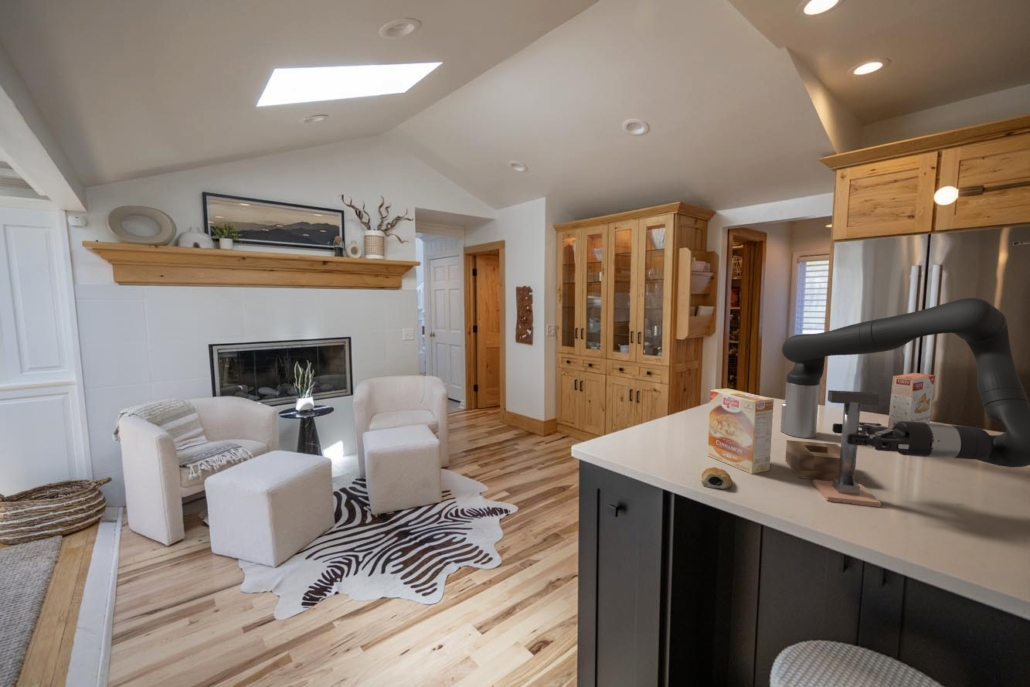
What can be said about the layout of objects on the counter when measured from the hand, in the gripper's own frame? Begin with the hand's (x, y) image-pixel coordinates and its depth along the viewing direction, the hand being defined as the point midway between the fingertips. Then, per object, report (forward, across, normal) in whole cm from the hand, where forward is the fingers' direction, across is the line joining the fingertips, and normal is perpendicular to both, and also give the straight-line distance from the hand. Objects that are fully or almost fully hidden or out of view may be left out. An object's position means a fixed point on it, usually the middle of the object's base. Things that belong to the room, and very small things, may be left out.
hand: (839, 433), depth 105 cm
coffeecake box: (+19, -15, +15) cm, 28 cm away
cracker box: (-36, -52, +15) cm, 65 cm away
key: (-2, 0, +14) cm, 14 cm away
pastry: (+26, +1, +15) cm, 30 cm away
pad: (-2, 0, +14) cm, 15 cm away
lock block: (0, -14, +14) cm, 20 cm away
